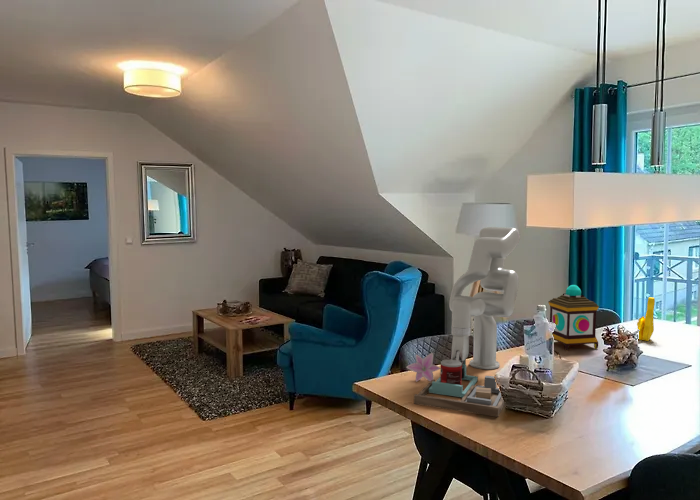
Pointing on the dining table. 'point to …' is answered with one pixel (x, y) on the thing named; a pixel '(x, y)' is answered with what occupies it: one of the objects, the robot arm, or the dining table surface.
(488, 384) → the grey organizer tray
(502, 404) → the divided compartment tray
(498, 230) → the robot arm
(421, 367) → the lily
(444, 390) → the teal rectangular frame
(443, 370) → the canned food
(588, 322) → the decorative lantern
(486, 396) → the tan wooden cube
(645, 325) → the yellow foam finger
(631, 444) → the dining table surface
